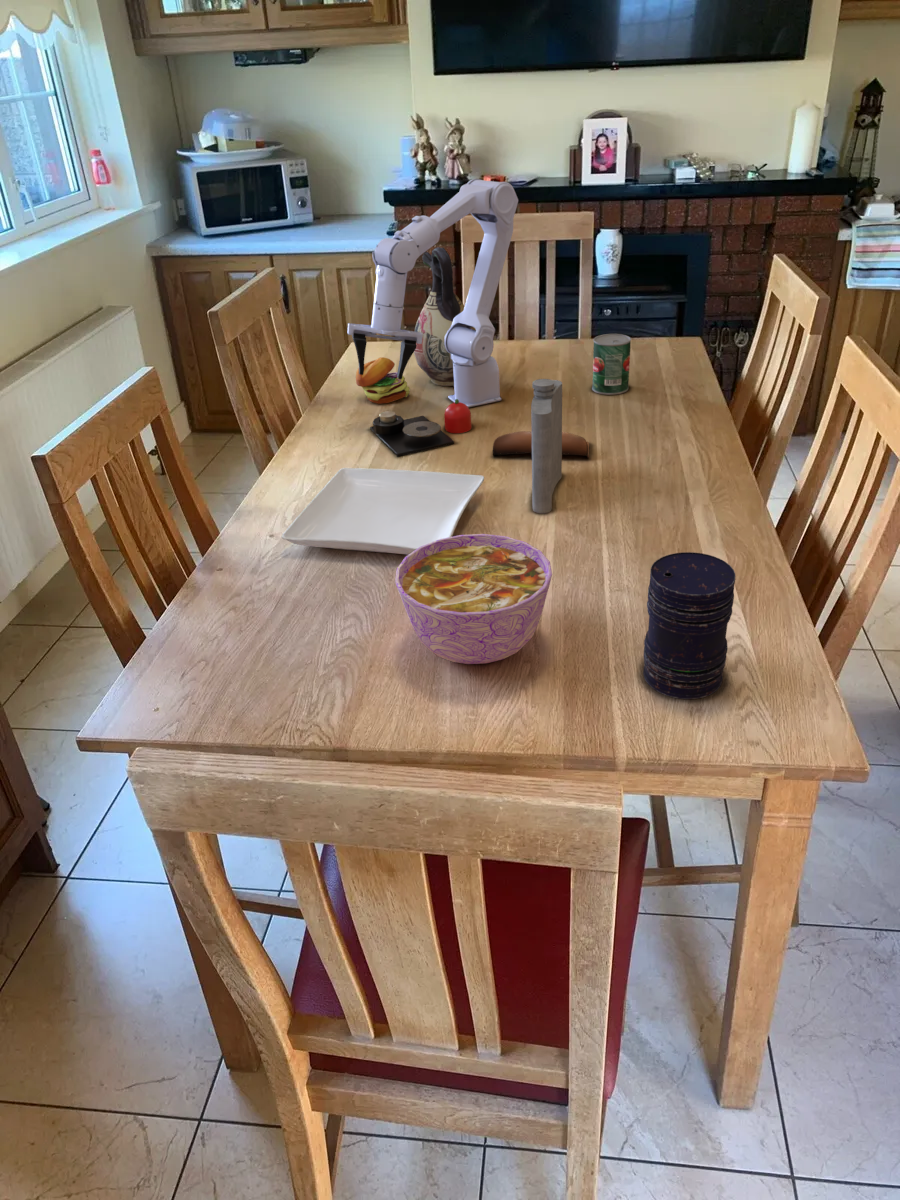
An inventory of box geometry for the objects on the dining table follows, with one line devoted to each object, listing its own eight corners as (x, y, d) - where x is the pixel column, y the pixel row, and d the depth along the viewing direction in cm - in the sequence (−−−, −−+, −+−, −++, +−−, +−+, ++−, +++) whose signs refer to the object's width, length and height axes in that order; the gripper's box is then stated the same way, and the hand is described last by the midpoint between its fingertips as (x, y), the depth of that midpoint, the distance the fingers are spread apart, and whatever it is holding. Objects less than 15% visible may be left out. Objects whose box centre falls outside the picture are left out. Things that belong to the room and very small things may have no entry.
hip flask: (550, 514, 153) (550, 399, 143) (526, 512, 154) (524, 398, 144) (562, 473, 166) (563, 365, 156) (540, 472, 167) (539, 365, 157)
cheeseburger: (410, 403, 200) (395, 361, 195) (364, 417, 202) (348, 375, 197) (412, 387, 209) (398, 345, 204) (368, 400, 211) (353, 359, 205)
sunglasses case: (590, 440, 177) (590, 418, 171) (588, 470, 174) (588, 449, 168) (497, 438, 180) (494, 417, 174) (494, 468, 177) (490, 448, 171)
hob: (423, 418, 193) (422, 406, 192) (454, 443, 181) (453, 431, 179) (369, 429, 190) (368, 417, 188) (397, 456, 177) (395, 444, 176)
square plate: (486, 492, 162) (486, 472, 160) (444, 571, 140) (443, 549, 138) (343, 482, 169) (340, 463, 166) (281, 556, 147) (277, 534, 144)
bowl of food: (371, 649, 123) (362, 576, 117) (475, 589, 135) (471, 519, 129) (479, 713, 111) (474, 634, 105) (583, 640, 122) (584, 566, 116)
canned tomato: (585, 387, 203) (586, 337, 198) (615, 380, 206) (617, 331, 200) (605, 397, 197) (606, 347, 191) (635, 390, 200) (638, 340, 194)
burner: (432, 419, 187) (431, 418, 187) (446, 432, 181) (446, 430, 181) (397, 427, 184) (397, 425, 184) (411, 440, 178) (411, 438, 178)
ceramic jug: (408, 375, 217) (396, 242, 201) (470, 365, 220) (463, 233, 204) (428, 398, 203) (417, 257, 187) (494, 387, 207) (489, 247, 191)
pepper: (464, 421, 191) (463, 392, 187) (475, 429, 186) (474, 400, 183) (440, 426, 189) (439, 397, 186) (451, 435, 185) (449, 405, 181)
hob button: (392, 418, 188) (392, 409, 187) (398, 423, 186) (397, 414, 185) (378, 421, 187) (377, 412, 186) (383, 426, 185) (382, 417, 184)
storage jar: (711, 649, 119) (723, 549, 111) (733, 696, 111) (748, 592, 103) (634, 654, 119) (641, 554, 111) (651, 702, 111) (659, 598, 103)
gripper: (352, 302, 172) (345, 375, 177) (428, 312, 175) (419, 384, 180) (349, 298, 178) (342, 368, 184) (422, 308, 182) (413, 377, 187)
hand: (380, 376), depth 182 cm, fingers open, 7 cm apart
